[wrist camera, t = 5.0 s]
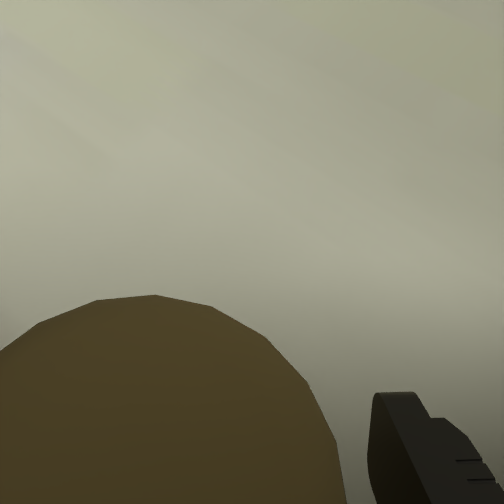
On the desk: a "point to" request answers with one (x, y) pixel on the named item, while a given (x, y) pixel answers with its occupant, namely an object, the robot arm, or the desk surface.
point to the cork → (158, 412)
